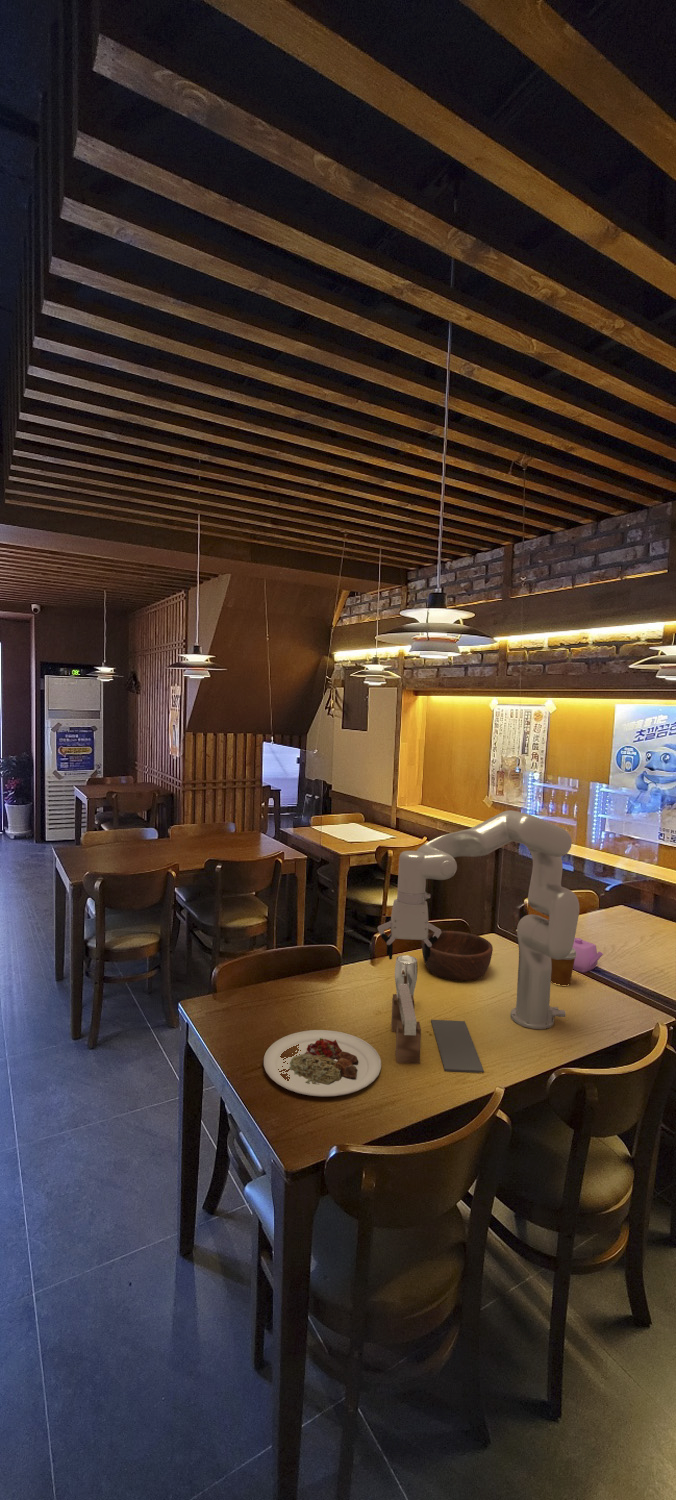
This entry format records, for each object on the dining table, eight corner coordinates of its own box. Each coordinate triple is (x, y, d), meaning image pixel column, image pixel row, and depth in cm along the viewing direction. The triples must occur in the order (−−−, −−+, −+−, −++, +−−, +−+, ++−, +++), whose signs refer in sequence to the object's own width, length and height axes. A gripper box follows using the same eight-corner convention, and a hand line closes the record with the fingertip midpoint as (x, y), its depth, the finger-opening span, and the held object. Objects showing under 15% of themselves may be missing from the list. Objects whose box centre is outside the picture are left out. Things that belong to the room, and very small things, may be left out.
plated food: (286, 1114, 141) (286, 1100, 141) (249, 1047, 169) (249, 1035, 168) (402, 1087, 153) (403, 1073, 153) (350, 1029, 181) (351, 1017, 181)
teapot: (608, 971, 230) (610, 943, 229) (593, 977, 223) (594, 949, 223) (564, 955, 244) (565, 929, 243) (548, 961, 238) (549, 934, 237)
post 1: (411, 1025, 184) (413, 994, 183) (413, 1032, 180) (414, 1001, 179) (391, 1024, 184) (392, 994, 183) (392, 1031, 180) (393, 1000, 179)
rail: (407, 997, 184) (408, 983, 184) (415, 1035, 162) (416, 1020, 162) (397, 996, 184) (397, 983, 184) (404, 1035, 162) (404, 1019, 162)
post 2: (418, 1055, 168) (419, 1021, 167) (419, 1063, 164) (421, 1029, 163) (395, 1054, 168) (396, 1020, 167) (396, 1062, 164) (398, 1028, 163)
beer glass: (414, 1013, 191) (417, 964, 191) (392, 1010, 193) (394, 962, 192) (416, 1002, 198) (418, 956, 197) (394, 1000, 200) (396, 953, 199)
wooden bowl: (420, 954, 239) (421, 927, 239) (487, 960, 236) (489, 933, 235) (420, 981, 215) (421, 952, 214) (495, 988, 211) (496, 958, 211)
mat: (464, 1023, 186) (464, 1021, 186) (483, 1073, 160) (484, 1070, 160) (431, 1021, 186) (431, 1019, 186) (444, 1071, 160) (444, 1068, 160)
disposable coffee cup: (577, 981, 219) (579, 947, 219) (571, 991, 211) (573, 956, 211) (549, 974, 224) (551, 941, 224) (542, 983, 216) (544, 949, 216)
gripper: (440, 894, 175) (437, 954, 176) (378, 891, 175) (375, 951, 176) (445, 902, 167) (441, 965, 168) (380, 899, 168) (376, 962, 169)
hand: (407, 958), depth 172 cm, fingers open, 9 cm apart
